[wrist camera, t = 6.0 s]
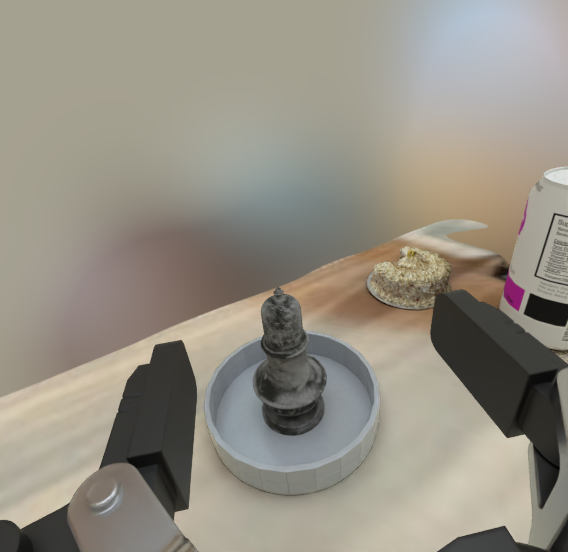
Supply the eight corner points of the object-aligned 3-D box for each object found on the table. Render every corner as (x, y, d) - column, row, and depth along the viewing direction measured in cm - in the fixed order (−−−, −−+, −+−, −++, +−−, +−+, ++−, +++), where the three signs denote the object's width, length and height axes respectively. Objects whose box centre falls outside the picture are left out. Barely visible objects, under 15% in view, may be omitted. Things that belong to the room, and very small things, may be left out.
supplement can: (478, 316, 37) (511, 175, 29) (536, 295, 39) (580, 159, 31) (553, 366, 30) (621, 200, 23) (618, 338, 32) (700, 177, 25)
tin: (201, 507, 23) (191, 484, 22) (219, 361, 35) (214, 340, 33) (404, 480, 23) (408, 456, 22) (353, 344, 35) (353, 322, 34)
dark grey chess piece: (333, 385, 31) (328, 267, 24) (321, 445, 26) (312, 317, 20) (270, 376, 32) (251, 264, 26) (248, 432, 27) (219, 310, 21)
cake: (462, 283, 43) (473, 246, 40) (430, 325, 37) (440, 285, 34) (389, 258, 49) (394, 224, 46) (351, 291, 43) (354, 254, 40)
